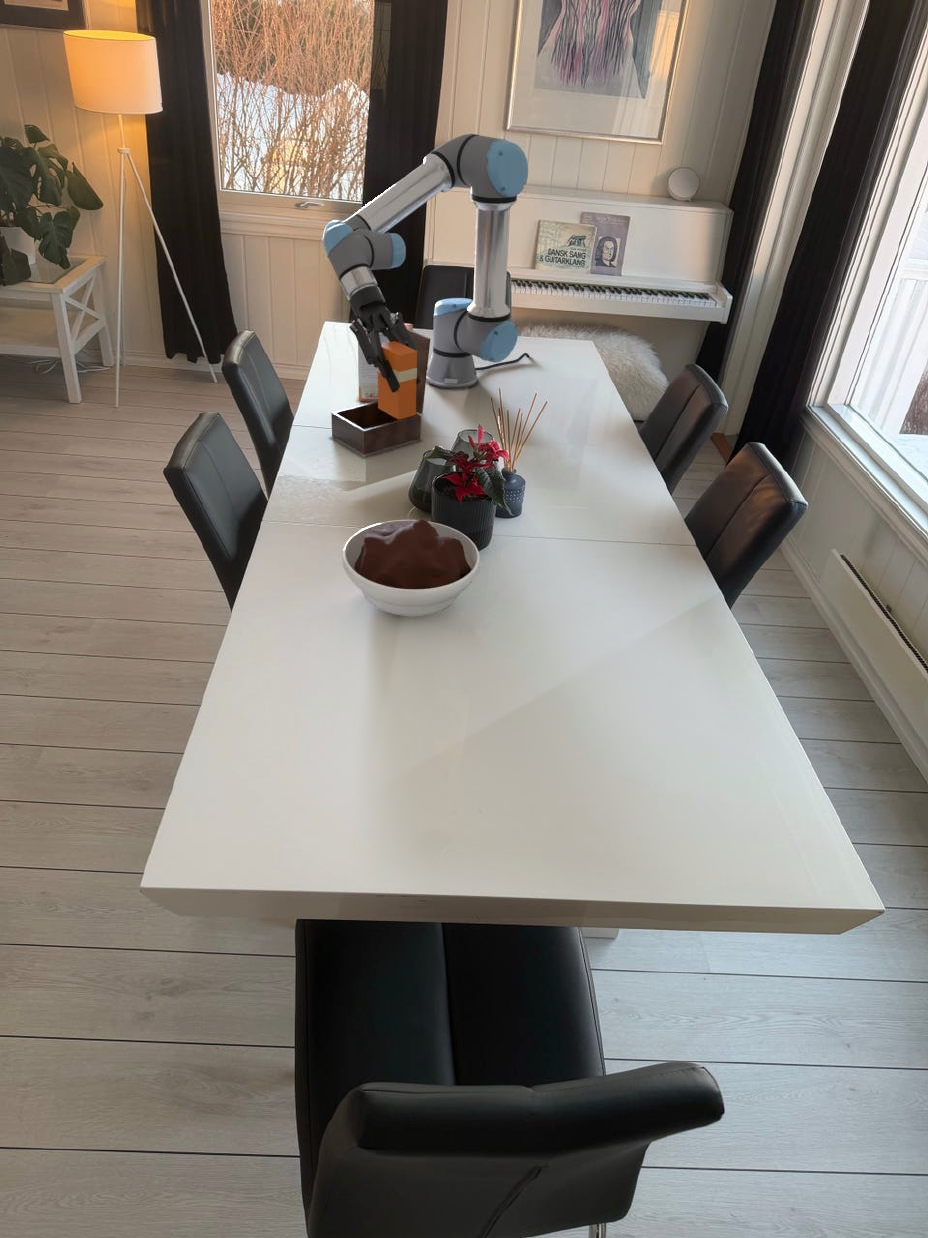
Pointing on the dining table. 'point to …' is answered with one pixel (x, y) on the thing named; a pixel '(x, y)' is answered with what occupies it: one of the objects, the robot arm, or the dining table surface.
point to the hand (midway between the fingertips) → (406, 386)
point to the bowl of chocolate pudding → (410, 565)
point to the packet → (406, 374)
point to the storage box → (373, 428)
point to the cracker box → (370, 373)
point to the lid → (420, 366)
